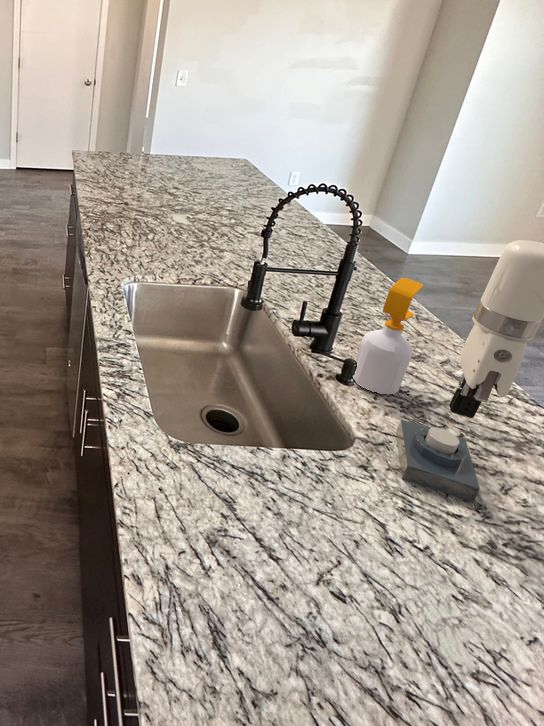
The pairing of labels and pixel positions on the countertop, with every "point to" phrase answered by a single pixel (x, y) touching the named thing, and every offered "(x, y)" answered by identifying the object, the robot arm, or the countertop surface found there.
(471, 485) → the push button base
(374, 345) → the soap bottle
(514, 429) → the countertop surface
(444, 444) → the flush button
